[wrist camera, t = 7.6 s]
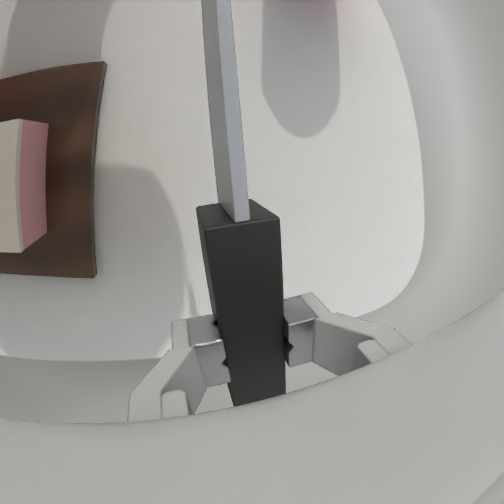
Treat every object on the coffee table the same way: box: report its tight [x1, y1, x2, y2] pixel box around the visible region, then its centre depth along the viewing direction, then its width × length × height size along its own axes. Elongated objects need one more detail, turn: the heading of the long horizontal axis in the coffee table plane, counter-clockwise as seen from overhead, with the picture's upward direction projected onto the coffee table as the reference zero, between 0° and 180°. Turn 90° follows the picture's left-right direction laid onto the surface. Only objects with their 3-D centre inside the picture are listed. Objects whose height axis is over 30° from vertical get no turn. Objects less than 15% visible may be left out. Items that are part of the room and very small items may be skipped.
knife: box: [196, 0, 286, 407], centre depth 8 cm, size 17×2×3 cm, turn 5°
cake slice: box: [0, 119, 49, 253], centre depth 15 cm, size 9×5×5 cm, turn 174°
